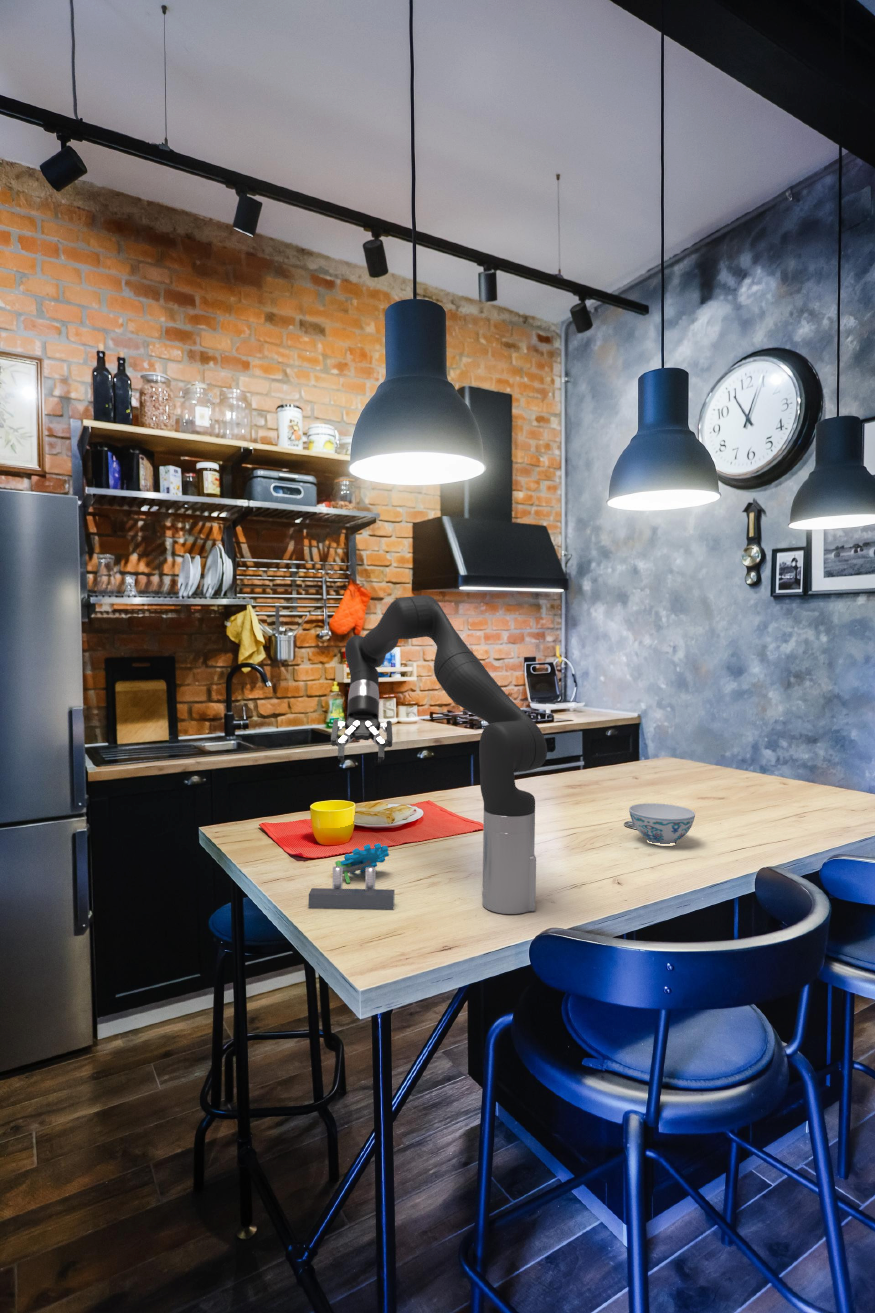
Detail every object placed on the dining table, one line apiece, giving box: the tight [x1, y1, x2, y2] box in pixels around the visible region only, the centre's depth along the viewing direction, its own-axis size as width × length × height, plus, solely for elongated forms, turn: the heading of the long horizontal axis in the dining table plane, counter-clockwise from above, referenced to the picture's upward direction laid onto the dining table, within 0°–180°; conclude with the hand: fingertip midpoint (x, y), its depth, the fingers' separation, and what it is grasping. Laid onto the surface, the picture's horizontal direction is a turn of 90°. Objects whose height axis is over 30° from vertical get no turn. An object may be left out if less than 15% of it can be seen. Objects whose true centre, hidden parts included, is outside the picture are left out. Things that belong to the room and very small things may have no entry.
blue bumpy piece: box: [334, 842, 390, 885], centre depth 142 cm, size 11×6×10 cm
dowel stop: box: [308, 865, 396, 911], centre depth 129 cm, size 15×5×6 cm, turn 89°
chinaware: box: [628, 802, 696, 844], centre depth 171 cm, size 15×15×8 cm
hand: (361, 760), depth 164 cm, fingers open, 8 cm apart
